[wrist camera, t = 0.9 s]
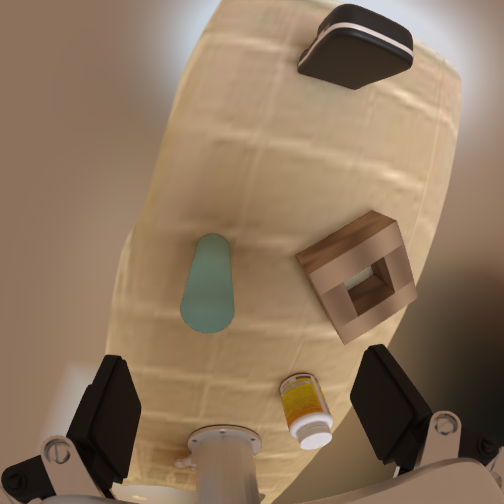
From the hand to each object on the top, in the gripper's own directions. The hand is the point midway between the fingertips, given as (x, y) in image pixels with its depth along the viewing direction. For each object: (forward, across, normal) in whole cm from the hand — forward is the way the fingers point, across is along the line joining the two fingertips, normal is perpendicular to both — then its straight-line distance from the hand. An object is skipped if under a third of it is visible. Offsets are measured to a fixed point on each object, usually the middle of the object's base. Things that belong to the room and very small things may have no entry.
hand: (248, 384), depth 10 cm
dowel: (+20, +2, +1) cm, 20 cm away
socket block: (+20, -14, +4) cm, 24 cm away
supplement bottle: (+20, -9, +22) cm, 31 cm away
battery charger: (+20, -10, -18) cm, 29 cm away
